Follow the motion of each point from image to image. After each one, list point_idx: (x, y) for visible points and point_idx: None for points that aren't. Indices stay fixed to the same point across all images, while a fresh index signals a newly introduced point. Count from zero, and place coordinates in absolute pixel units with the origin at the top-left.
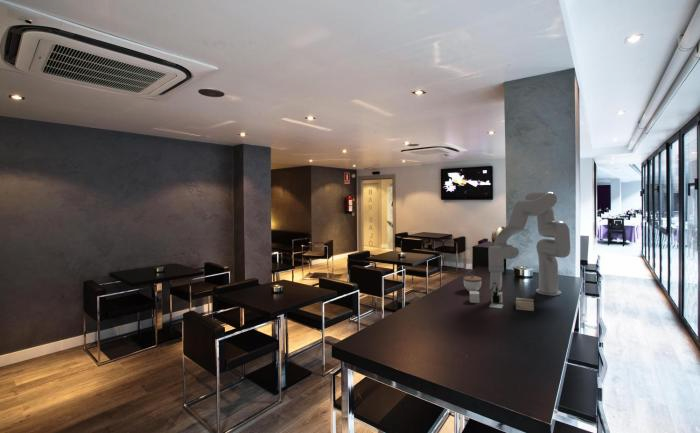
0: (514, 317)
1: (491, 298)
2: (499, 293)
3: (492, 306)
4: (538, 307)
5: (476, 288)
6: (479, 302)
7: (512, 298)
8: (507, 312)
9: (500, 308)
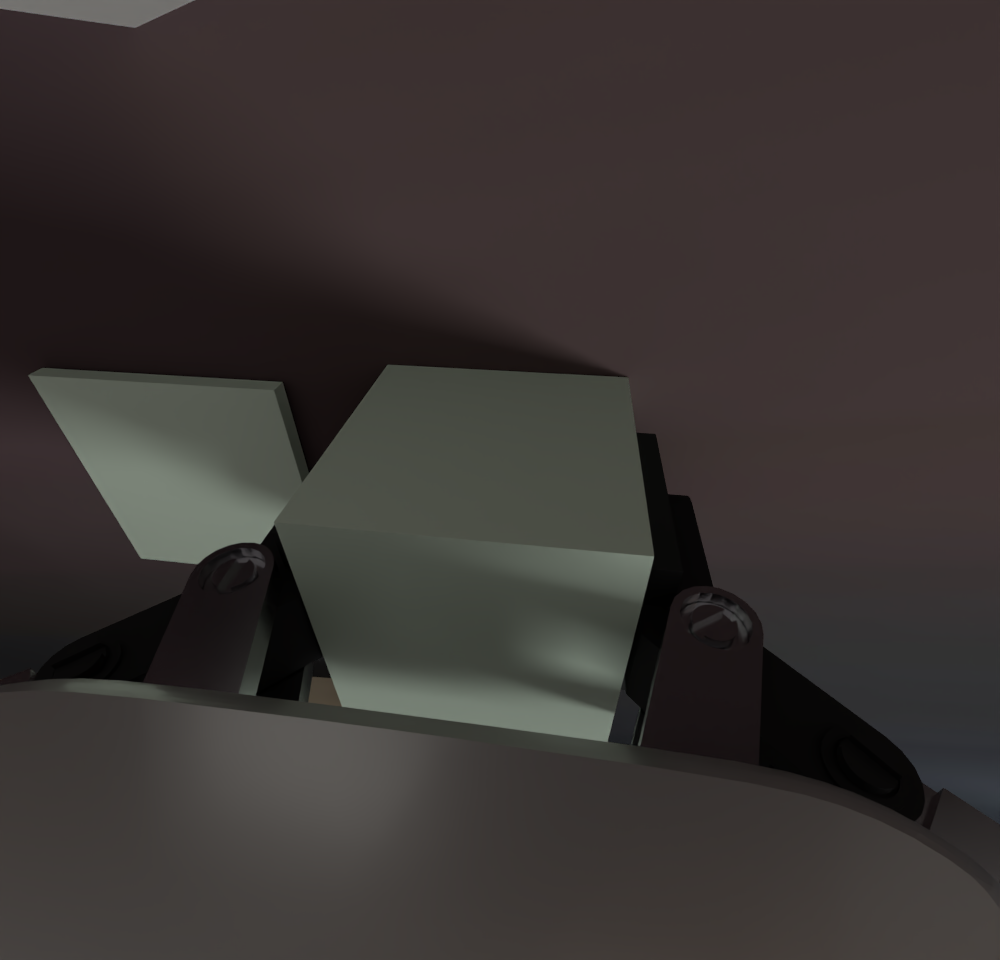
0: (6, 651)
1: (347, 428)
2: (431, 698)
3: (87, 434)
4: None
5: None
6: (120, 24)
7: (829, 671)
8: (85, 605)
9: (138, 541)
